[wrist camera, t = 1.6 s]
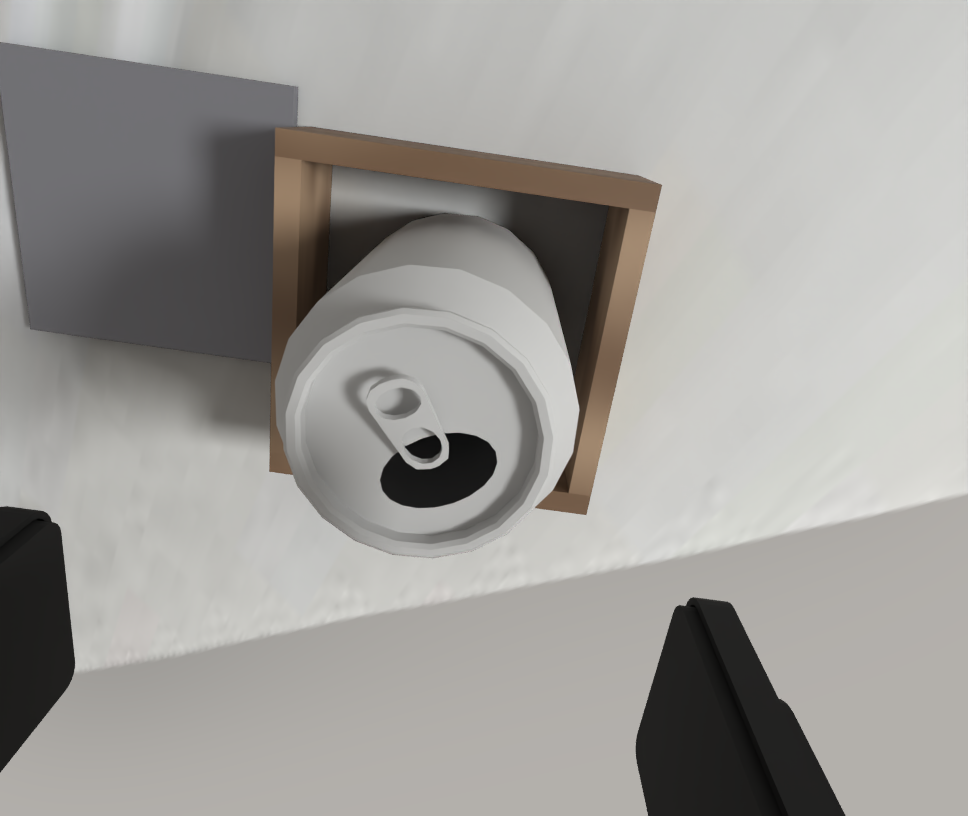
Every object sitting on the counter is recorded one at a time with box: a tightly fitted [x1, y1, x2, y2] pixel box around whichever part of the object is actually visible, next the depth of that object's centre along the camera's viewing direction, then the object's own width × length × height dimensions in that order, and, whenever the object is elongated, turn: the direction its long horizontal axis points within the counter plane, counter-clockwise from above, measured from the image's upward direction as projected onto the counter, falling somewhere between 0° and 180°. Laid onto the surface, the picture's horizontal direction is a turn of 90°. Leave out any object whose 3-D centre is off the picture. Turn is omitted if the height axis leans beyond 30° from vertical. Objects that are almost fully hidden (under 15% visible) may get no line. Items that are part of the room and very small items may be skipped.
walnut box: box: [269, 127, 662, 515], centre depth 24 cm, size 12×12×4 cm
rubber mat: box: [0, 42, 298, 363], centre depth 25 cm, size 10×10×1 cm
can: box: [275, 213, 579, 558], centre depth 21 cm, size 8×8×12 cm
